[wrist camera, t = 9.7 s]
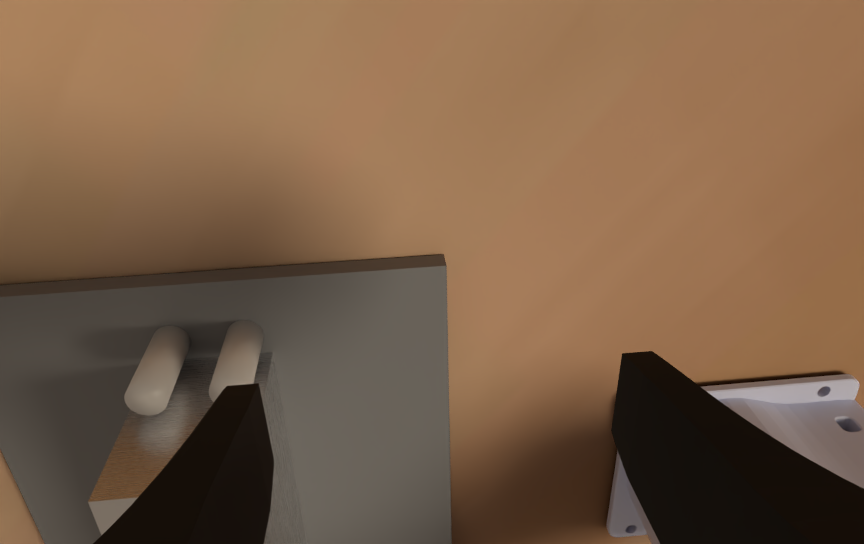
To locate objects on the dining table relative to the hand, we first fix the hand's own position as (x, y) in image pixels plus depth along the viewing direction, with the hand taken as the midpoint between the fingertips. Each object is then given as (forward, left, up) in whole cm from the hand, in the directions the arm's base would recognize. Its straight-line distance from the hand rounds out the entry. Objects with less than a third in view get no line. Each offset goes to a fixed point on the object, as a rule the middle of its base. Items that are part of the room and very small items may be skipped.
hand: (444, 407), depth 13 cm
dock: (+7, +10, -9) cm, 15 cm away
